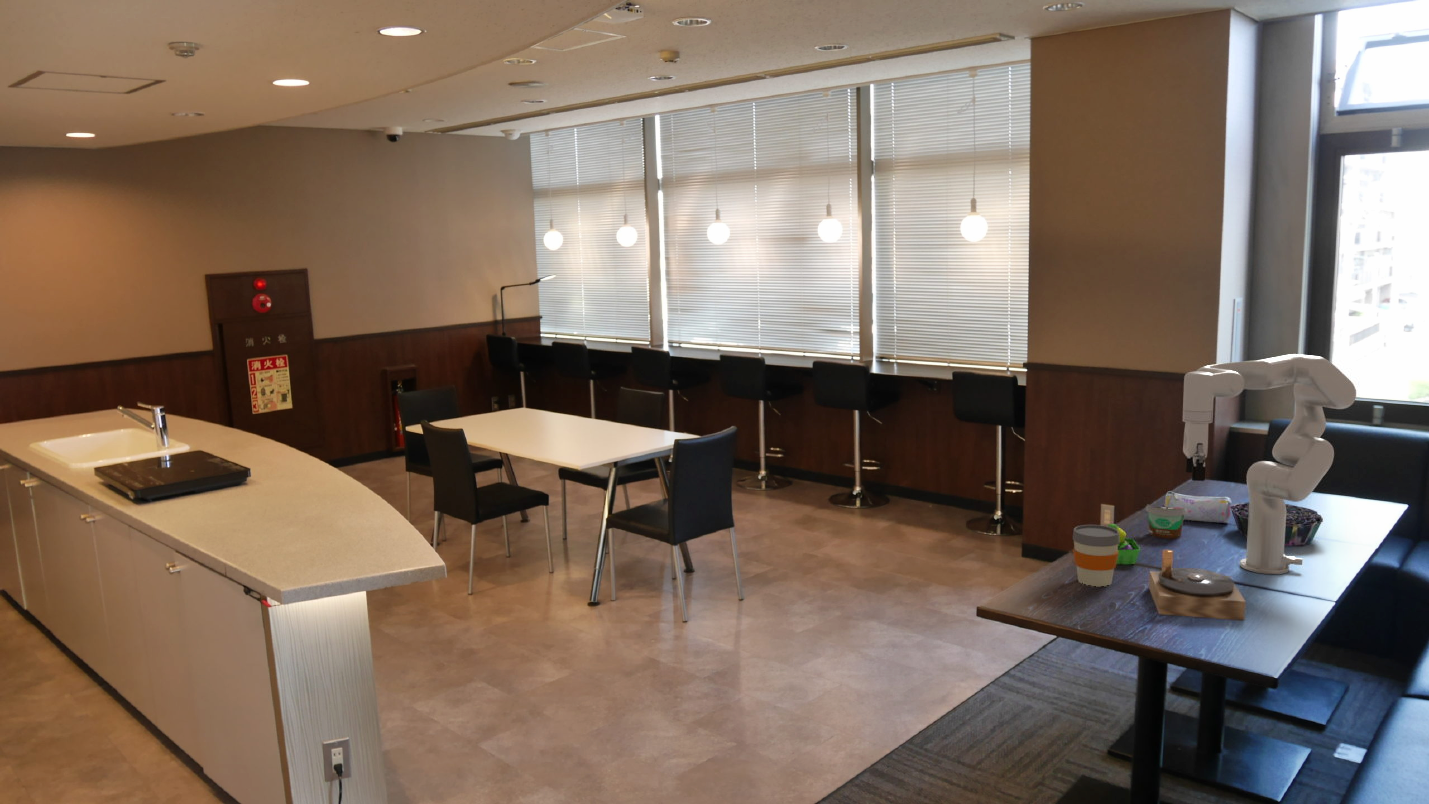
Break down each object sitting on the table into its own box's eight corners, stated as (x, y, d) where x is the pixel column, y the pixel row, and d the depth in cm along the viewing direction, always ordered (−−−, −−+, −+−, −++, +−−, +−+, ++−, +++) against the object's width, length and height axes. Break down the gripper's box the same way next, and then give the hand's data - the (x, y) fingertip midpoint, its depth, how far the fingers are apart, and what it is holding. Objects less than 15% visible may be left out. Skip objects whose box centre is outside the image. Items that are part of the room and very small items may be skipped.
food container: (1145, 538, 321) (1146, 508, 320) (1144, 533, 327) (1145, 503, 325) (1187, 541, 316) (1188, 511, 315) (1185, 536, 322) (1187, 506, 321)
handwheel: (1156, 570, 274) (1157, 540, 273) (1229, 576, 268) (1230, 546, 266) (1160, 592, 257) (1161, 560, 256) (1237, 599, 251) (1239, 566, 250)
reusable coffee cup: (1113, 591, 274) (1115, 539, 272) (1066, 584, 281) (1068, 533, 278) (1122, 578, 285) (1123, 527, 282) (1076, 571, 291) (1078, 522, 289)
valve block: (1228, 593, 270) (1229, 575, 269) (1244, 620, 251) (1245, 601, 250) (1149, 588, 276) (1149, 571, 275) (1158, 614, 257) (1159, 595, 256)
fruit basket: (1140, 566, 294) (1141, 529, 293) (1108, 565, 296) (1110, 528, 294) (1132, 554, 305) (1133, 519, 304) (1102, 553, 307) (1103, 518, 305)
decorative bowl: (1298, 531, 330) (1299, 501, 330) (1341, 549, 303) (1341, 517, 302) (1218, 530, 334) (1218, 501, 333) (1252, 549, 306) (1253, 517, 305)
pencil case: (1161, 519, 342) (1162, 492, 341) (1166, 513, 349) (1167, 487, 348) (1229, 527, 330) (1230, 500, 329) (1232, 521, 337) (1233, 494, 336)
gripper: (1177, 410, 283) (1175, 469, 286) (1188, 421, 267) (1185, 483, 270) (1206, 411, 281) (1204, 469, 284) (1218, 422, 265) (1215, 484, 268)
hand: (1195, 476), depth 277 cm, fingers open, 9 cm apart
